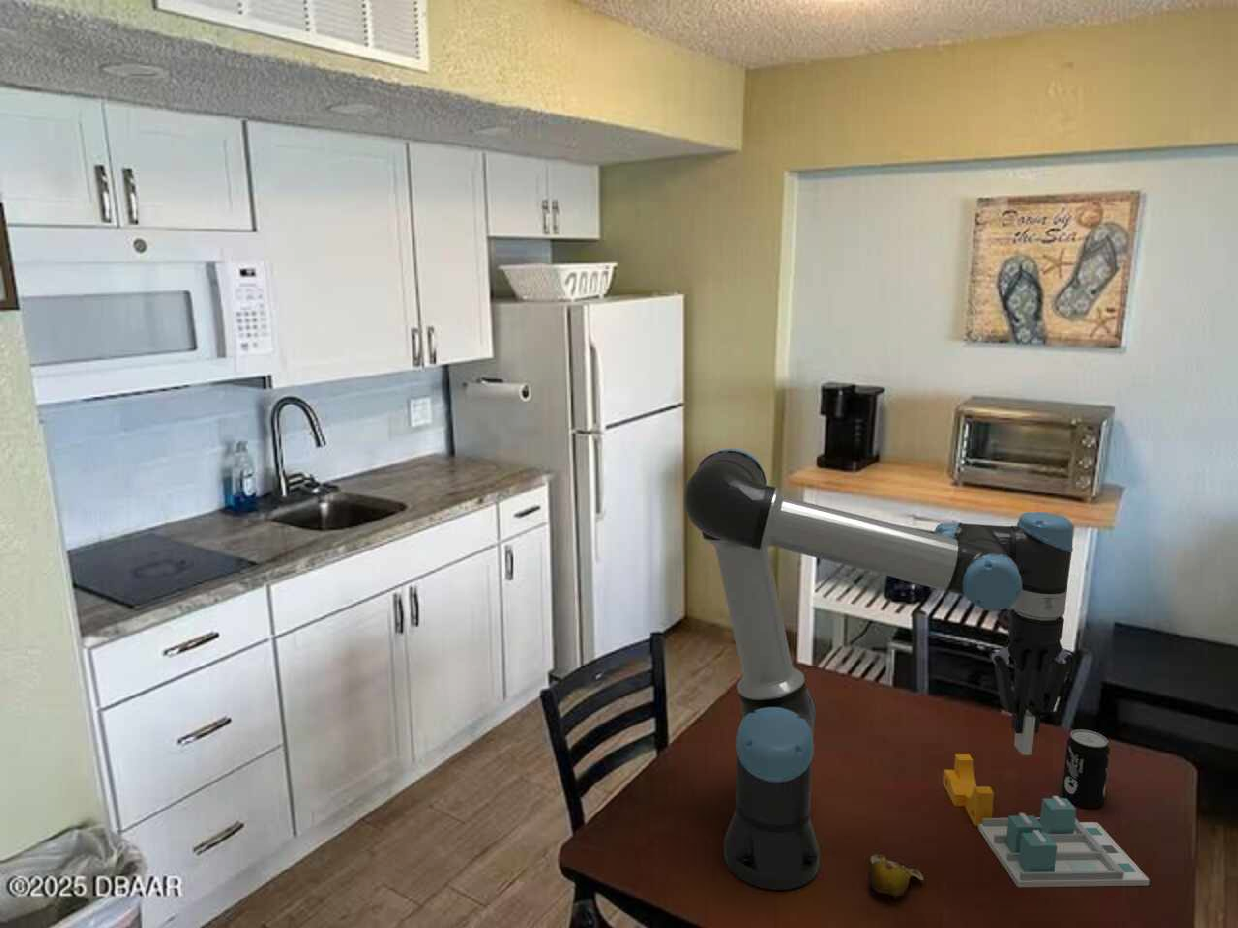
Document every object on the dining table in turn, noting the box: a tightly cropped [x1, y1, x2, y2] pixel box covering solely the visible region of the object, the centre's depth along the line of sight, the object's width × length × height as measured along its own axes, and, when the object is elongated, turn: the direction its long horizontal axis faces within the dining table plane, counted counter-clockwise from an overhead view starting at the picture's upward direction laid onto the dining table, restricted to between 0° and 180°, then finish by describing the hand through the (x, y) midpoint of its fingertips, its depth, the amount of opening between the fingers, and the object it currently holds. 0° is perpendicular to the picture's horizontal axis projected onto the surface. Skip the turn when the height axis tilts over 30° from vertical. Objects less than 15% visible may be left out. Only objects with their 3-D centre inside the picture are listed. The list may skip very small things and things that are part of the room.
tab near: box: [1019, 830, 1057, 872], centre depth 128 cm, size 4×3×6 cm
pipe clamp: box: [942, 753, 995, 827], centre depth 146 cm, size 12×4×6 cm, turn 176°
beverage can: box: [1061, 728, 1111, 809], centre depth 147 cm, size 7×7×12 cm
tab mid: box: [1006, 812, 1043, 853], centre depth 132 cm, size 4×3×6 cm
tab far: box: [1039, 795, 1077, 834], centre depth 137 cm, size 4×3×6 cm
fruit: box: [867, 853, 924, 898], centre depth 127 cm, size 8×8×4 cm
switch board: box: [977, 816, 1151, 888], centre depth 133 cm, size 20×14×2 cm
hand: (1022, 749), depth 134 cm, fingers closed
